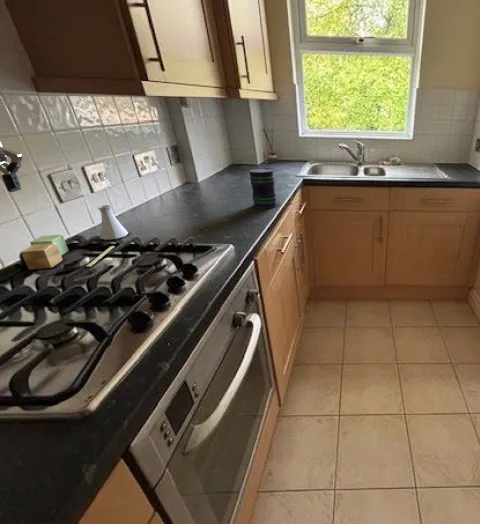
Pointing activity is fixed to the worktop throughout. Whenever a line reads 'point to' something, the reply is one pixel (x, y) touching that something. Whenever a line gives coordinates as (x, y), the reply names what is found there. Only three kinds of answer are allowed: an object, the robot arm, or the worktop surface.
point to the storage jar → (263, 187)
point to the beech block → (41, 256)
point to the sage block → (52, 239)
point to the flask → (110, 224)
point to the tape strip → (100, 256)
